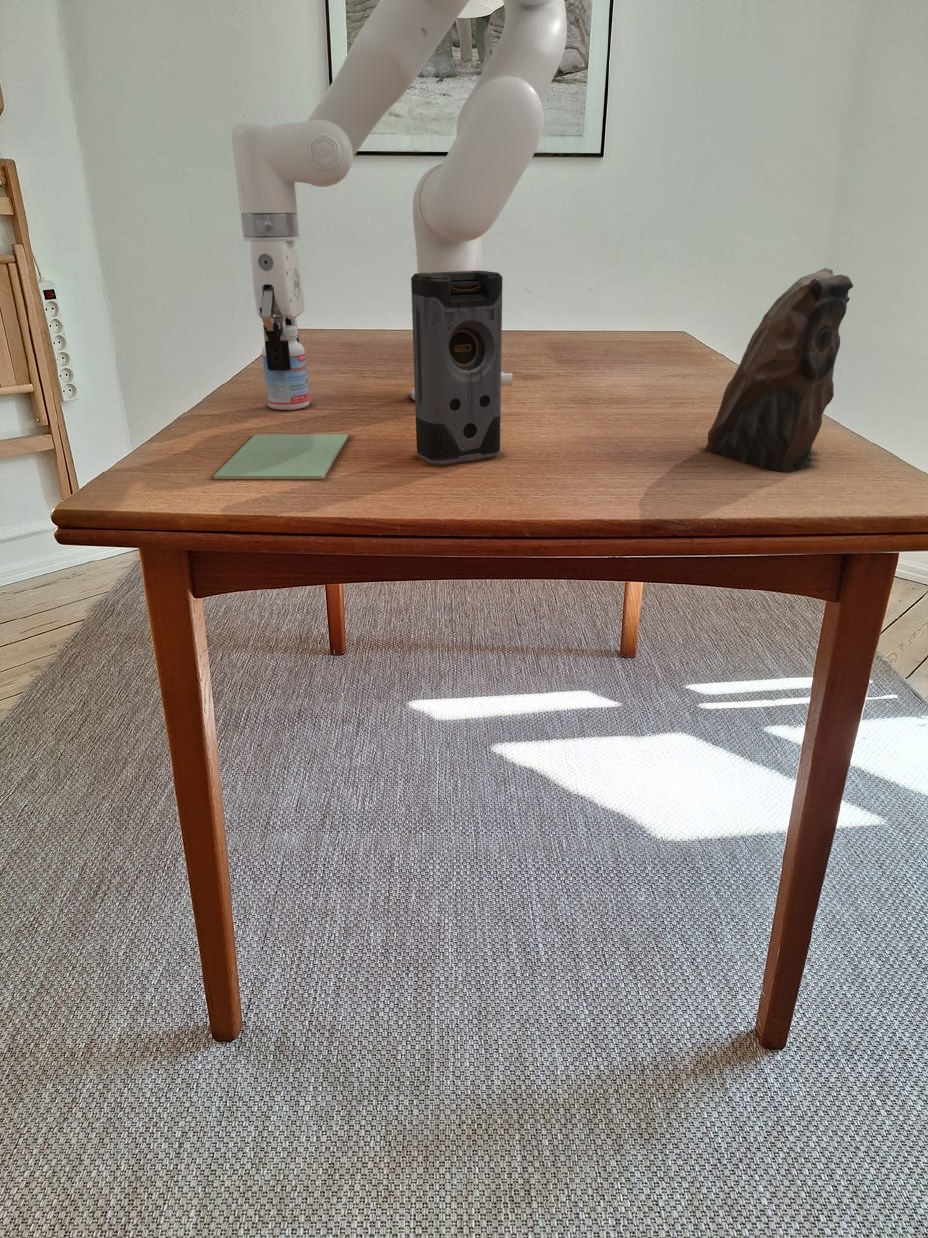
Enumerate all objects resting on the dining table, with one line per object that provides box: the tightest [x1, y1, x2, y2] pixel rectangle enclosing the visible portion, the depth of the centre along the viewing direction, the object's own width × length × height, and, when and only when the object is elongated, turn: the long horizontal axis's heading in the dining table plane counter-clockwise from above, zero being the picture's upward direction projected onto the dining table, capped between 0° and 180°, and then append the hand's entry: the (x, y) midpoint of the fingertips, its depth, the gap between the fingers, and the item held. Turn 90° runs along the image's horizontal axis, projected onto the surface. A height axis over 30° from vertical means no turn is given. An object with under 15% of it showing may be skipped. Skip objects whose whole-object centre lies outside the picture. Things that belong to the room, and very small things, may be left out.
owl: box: [704, 267, 854, 473], centre depth 90 cm, size 13×13×20 cm
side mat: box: [213, 433, 349, 480], centre depth 96 cm, size 12×18×1 cm, turn 179°
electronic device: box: [410, 270, 503, 467], centre depth 91 cm, size 9×6×20 cm, turn 117°
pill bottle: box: [261, 325, 310, 411], centre depth 118 cm, size 6×6×11 cm
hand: (284, 364), depth 118 cm, fingers closed on pill bottle, 6 cm apart
